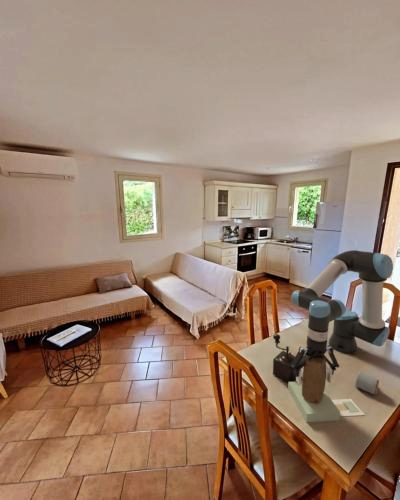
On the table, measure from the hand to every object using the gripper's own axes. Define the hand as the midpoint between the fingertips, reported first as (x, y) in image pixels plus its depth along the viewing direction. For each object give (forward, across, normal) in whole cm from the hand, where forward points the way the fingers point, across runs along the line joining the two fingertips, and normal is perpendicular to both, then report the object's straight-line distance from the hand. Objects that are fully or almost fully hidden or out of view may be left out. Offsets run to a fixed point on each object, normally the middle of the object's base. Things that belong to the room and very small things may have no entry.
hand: (313, 381), depth 97 cm
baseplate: (+11, 0, 0) cm, 11 cm away
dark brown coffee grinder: (+11, -5, +20) cm, 24 cm away
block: (+7, 0, 0) cm, 7 cm away
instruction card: (+11, +14, -3) cm, 18 cm away
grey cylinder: (+11, +31, +7) cm, 34 cm away
